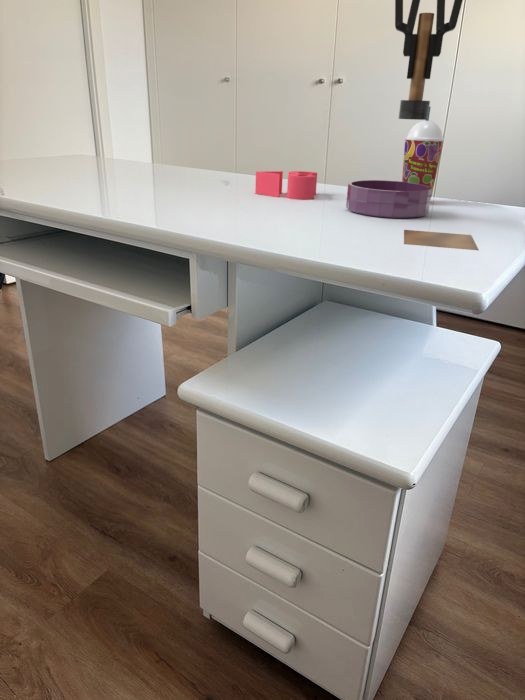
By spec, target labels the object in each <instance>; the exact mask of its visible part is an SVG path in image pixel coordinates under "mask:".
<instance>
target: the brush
mask: <svg viewBox="0 0 525 700" xmlns="http://www.w3.org/2000/svg"><path fill="white" fill-rule="evenodd" d="M434 19H435V13H434V12H419V14H418V20H417V21H418V22H417V29H416V34H417V38H416V46H415V54H414V62H413V70H412V77H411V79H410V85H409V92H408V99H401V100H400V103H399V110H398V111H399V112H398V119H399V120H415V121H416V120H417V121H418V120H420V121H424V120H427V119H428V113H429V107H431V100H423V99H424V93H425V86H426V85H425V84H426V79H425V78H426V71H427V63H428V56H429V48H430V41H431V34H433V25H434Z"/></svg>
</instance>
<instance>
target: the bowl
mask: <svg viewBox="0 0 525 700" xmlns="http://www.w3.org/2000/svg"><path fill="white" fill-rule="evenodd" d="M431 194H432V195H433V192H432V187H430V186H427V185H423V184H418V183H411V182H402V180H401V181H400V180H388V179H387V180H386V179H362V180H361V179H360V180H353V181H349V182H348V183H347V193H346V201H345V202H346V204H345V208H346V209H347V210H349V212H352V213H355V214H358V215H361V216H367V217H372V218H373V217H374V218H384V219H414V218H420V217H423V218H424V216H426V215H428V214H430V213H429V212H430V206H431V201H432V196H431Z"/></svg>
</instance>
